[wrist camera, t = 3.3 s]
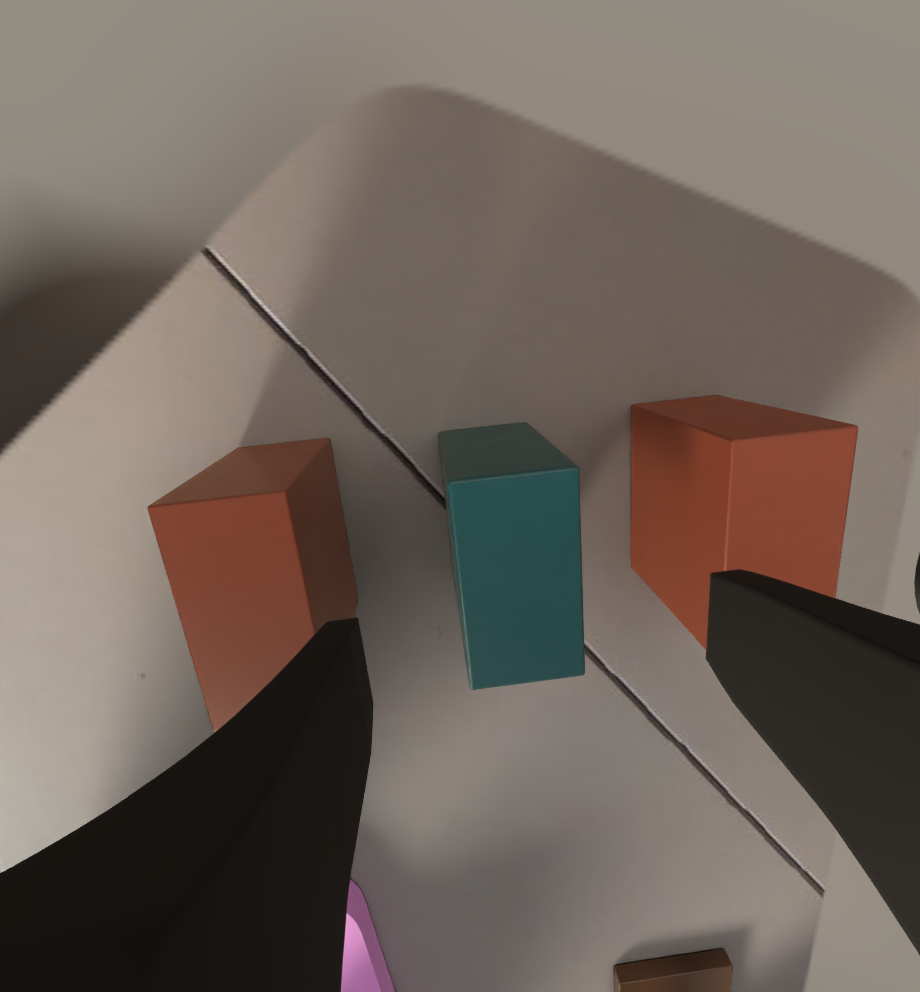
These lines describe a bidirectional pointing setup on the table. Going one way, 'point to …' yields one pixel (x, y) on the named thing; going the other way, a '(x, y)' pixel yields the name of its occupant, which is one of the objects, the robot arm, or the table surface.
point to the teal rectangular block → (514, 554)
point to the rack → (677, 974)
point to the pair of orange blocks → (654, 530)
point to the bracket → (362, 950)
